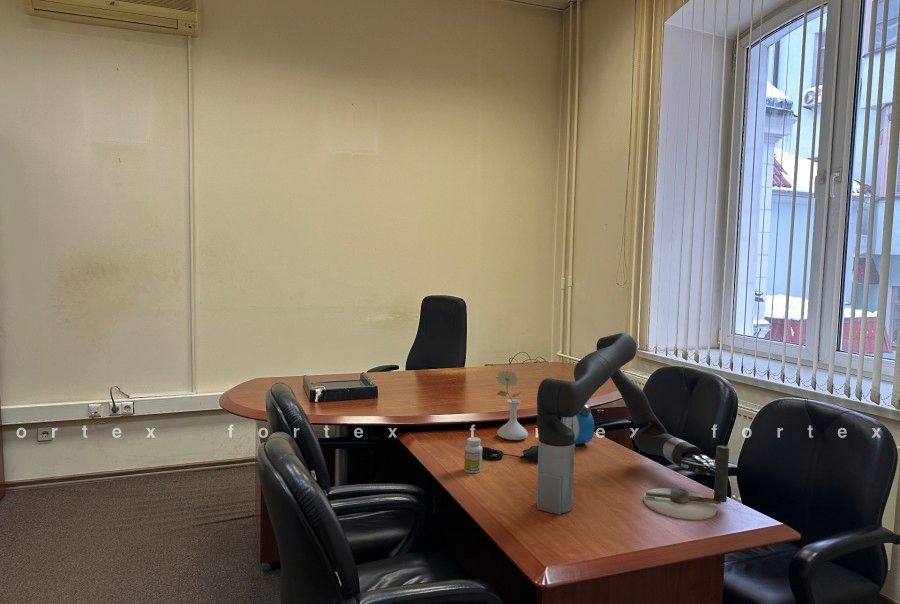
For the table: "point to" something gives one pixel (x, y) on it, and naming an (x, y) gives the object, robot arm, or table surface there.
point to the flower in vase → (512, 427)
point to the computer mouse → (529, 454)
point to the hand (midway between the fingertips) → (722, 475)
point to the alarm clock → (581, 425)
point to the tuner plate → (680, 506)
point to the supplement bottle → (473, 456)
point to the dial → (719, 488)
